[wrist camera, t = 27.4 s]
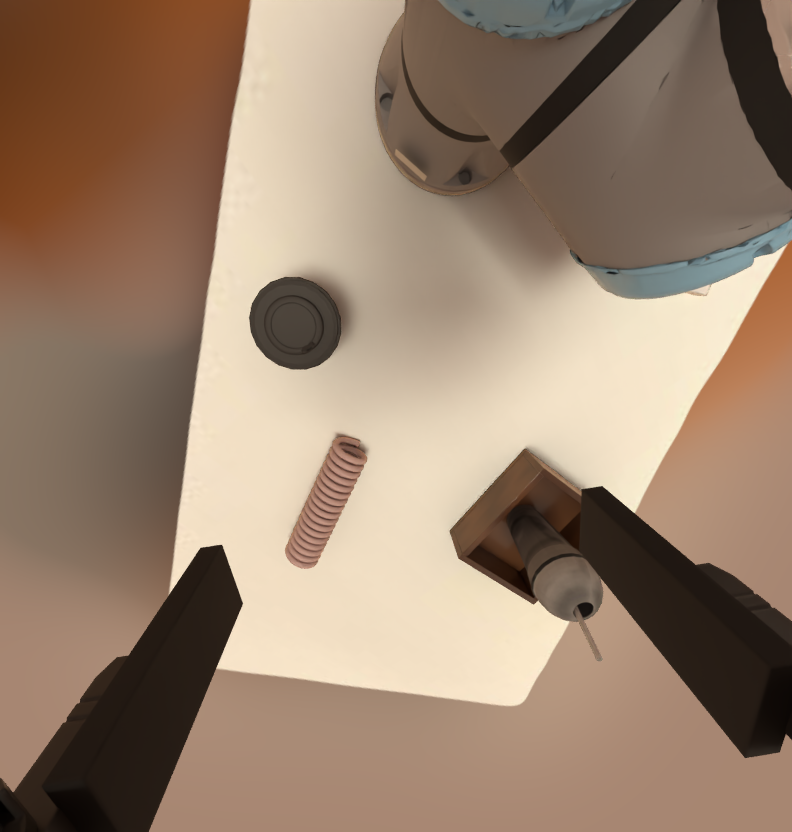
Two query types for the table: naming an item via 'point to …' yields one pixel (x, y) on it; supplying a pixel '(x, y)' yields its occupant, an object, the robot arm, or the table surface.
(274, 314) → the coffee cup
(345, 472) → the coil
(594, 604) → the beverage cup
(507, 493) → the box
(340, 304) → the table surface
